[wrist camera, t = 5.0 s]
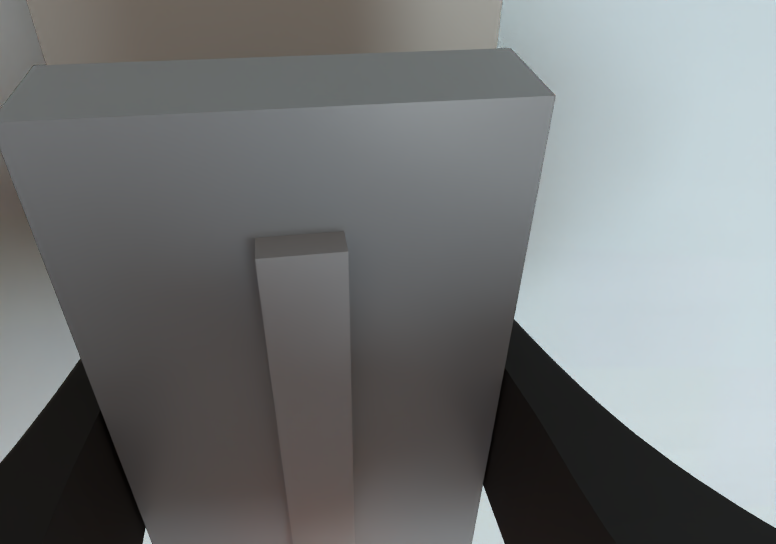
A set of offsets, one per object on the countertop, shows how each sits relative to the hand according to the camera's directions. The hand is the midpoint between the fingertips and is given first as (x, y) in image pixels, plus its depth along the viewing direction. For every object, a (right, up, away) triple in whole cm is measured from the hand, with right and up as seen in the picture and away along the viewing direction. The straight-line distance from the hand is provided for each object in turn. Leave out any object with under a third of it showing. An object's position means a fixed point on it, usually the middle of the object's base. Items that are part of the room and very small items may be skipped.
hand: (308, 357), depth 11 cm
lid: (0, 0, -1) cm, 1 cm away
